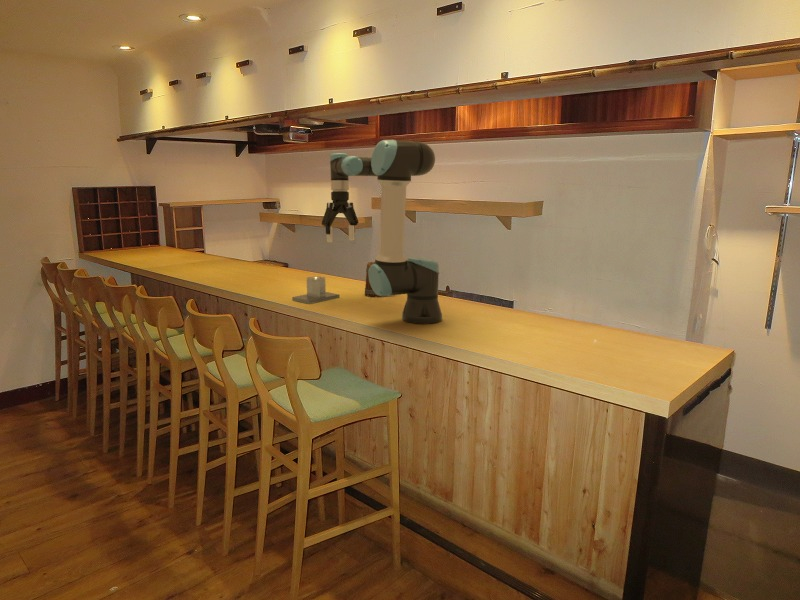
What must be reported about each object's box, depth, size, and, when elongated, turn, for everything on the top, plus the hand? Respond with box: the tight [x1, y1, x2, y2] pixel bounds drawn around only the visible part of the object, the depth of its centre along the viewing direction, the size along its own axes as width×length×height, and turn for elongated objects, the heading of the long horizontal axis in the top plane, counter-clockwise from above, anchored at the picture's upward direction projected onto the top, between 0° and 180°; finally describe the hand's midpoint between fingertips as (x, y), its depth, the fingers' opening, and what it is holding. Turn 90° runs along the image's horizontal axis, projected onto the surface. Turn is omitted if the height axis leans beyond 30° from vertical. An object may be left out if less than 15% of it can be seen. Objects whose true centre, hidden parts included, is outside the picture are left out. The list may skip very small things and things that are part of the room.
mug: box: [364, 261, 382, 298], centre depth 245 cm, size 16×11×15 cm
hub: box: [306, 276, 327, 298], centre depth 235 cm, size 8×8×8 cm
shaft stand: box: [291, 275, 341, 305], centre depth 236 cm, size 11×18×10 cm, turn 141°
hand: (341, 241), depth 230 cm, fingers open, 13 cm apart
